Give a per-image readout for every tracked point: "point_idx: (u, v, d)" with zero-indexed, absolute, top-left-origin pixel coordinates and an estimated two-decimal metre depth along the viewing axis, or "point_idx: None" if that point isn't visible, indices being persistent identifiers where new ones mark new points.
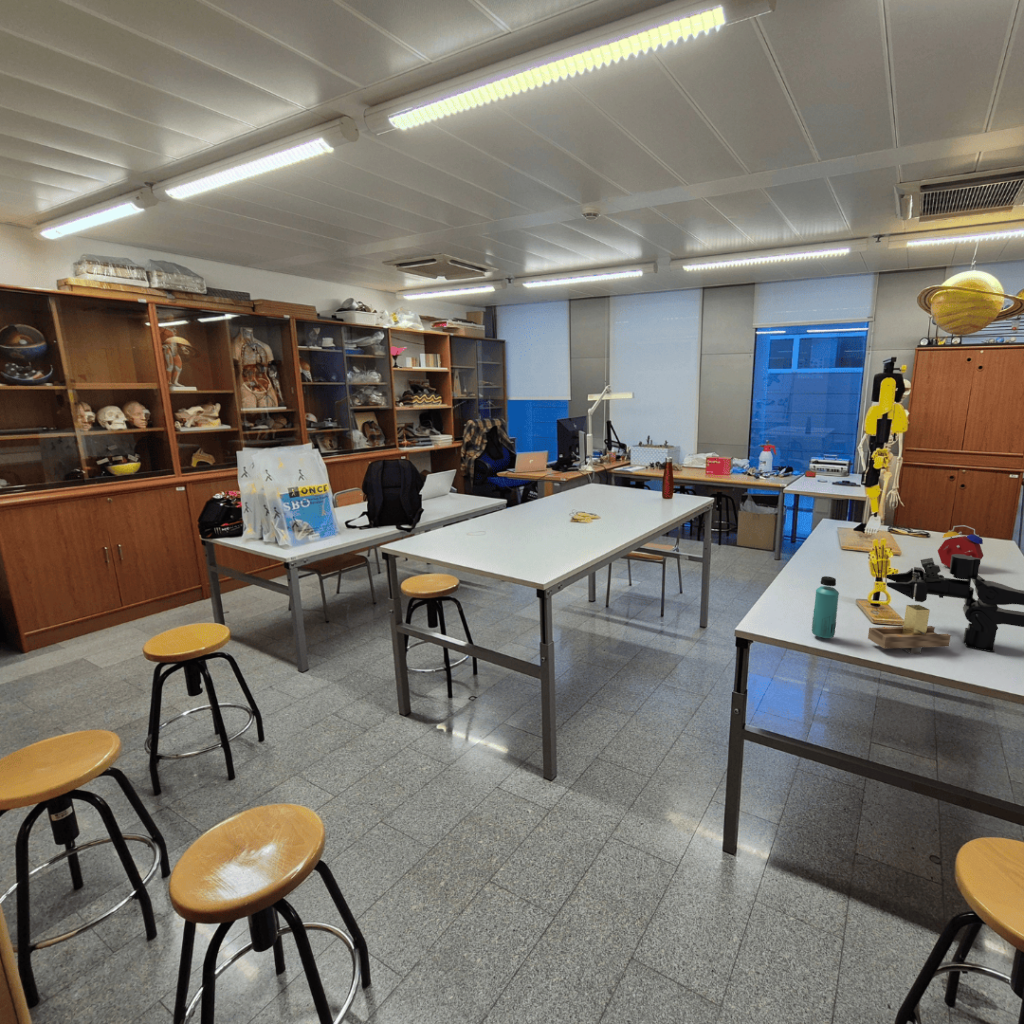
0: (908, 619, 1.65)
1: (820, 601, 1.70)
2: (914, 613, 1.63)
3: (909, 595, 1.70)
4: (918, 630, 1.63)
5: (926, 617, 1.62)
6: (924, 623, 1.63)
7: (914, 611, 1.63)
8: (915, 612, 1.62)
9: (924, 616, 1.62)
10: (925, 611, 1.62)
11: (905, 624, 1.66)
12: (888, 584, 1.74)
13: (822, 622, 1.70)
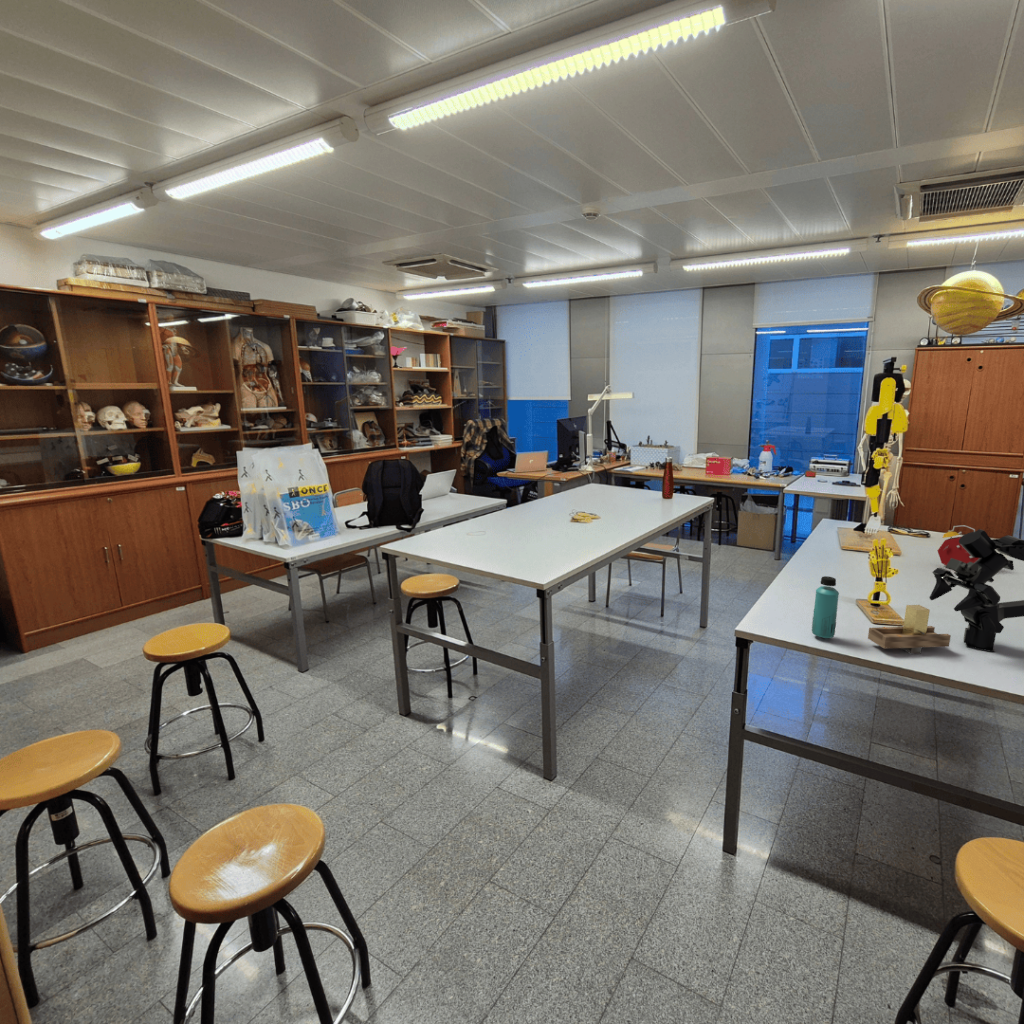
0: (908, 619, 1.65)
1: (820, 601, 1.70)
2: (914, 613, 1.63)
3: (981, 603, 1.58)
4: (918, 630, 1.63)
5: (926, 617, 1.62)
6: (924, 623, 1.63)
7: (914, 611, 1.63)
8: (915, 612, 1.62)
9: (924, 616, 1.62)
10: (925, 611, 1.62)
11: (905, 624, 1.66)
12: (956, 609, 1.60)
13: (822, 622, 1.70)
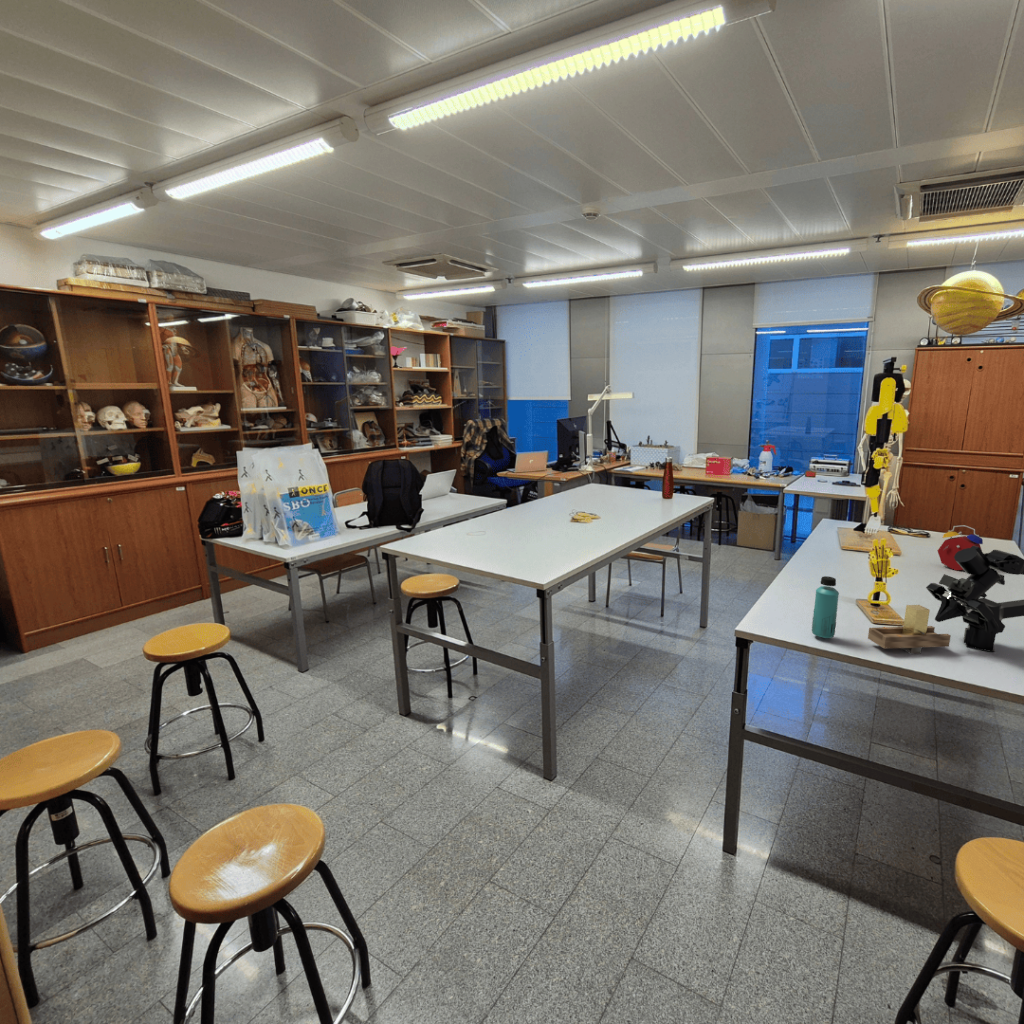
0: (908, 619, 1.65)
1: (820, 601, 1.70)
2: (914, 613, 1.63)
3: (962, 614, 1.63)
4: (918, 630, 1.63)
5: (926, 617, 1.62)
6: (924, 623, 1.63)
7: (914, 611, 1.63)
8: (915, 612, 1.62)
9: (924, 616, 1.62)
10: (925, 611, 1.62)
11: (905, 624, 1.66)
12: (938, 620, 1.65)
13: (822, 622, 1.70)
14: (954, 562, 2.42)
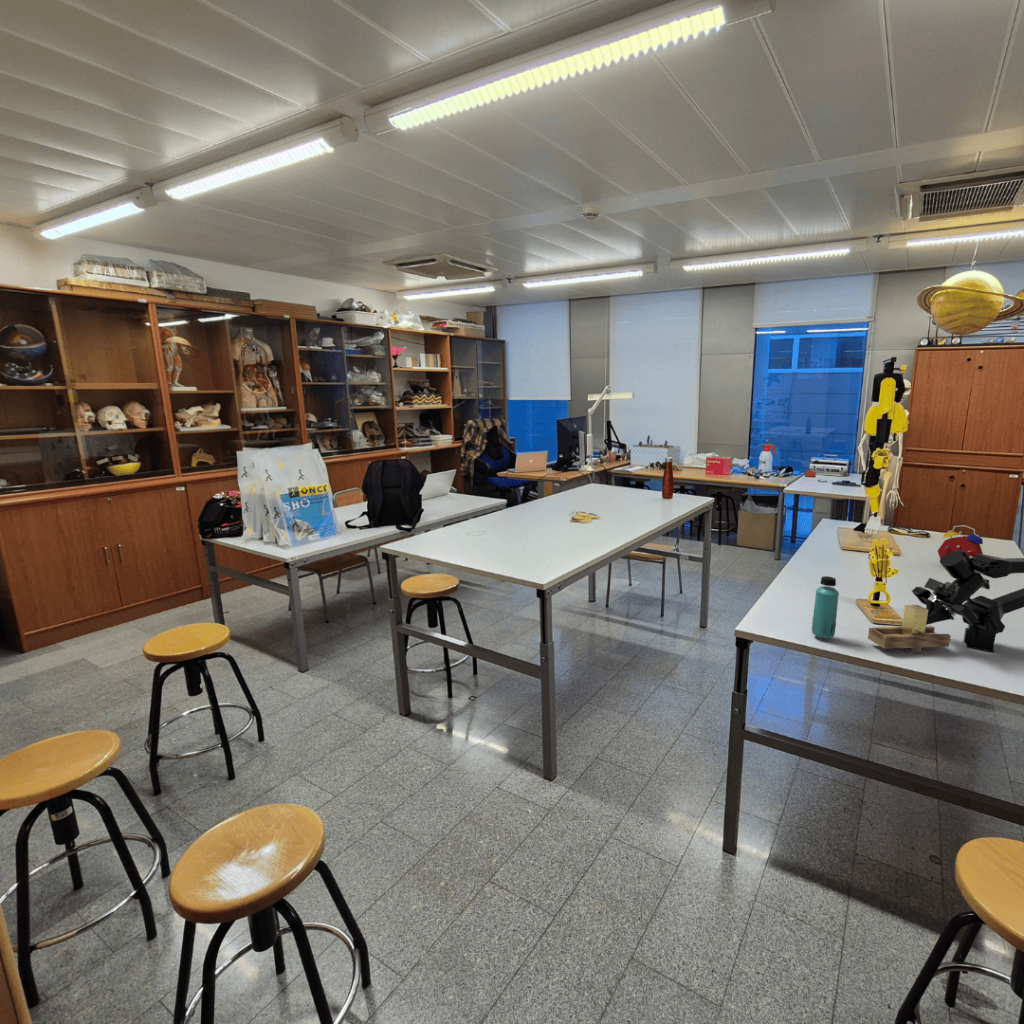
0: (907, 619, 1.65)
1: (820, 601, 1.70)
2: (913, 613, 1.63)
3: (947, 618, 1.63)
4: (917, 630, 1.63)
5: (925, 617, 1.62)
6: (923, 623, 1.63)
7: (912, 611, 1.63)
8: (914, 612, 1.62)
9: (922, 616, 1.62)
10: (923, 611, 1.62)
11: (903, 624, 1.66)
12: None
13: (822, 622, 1.70)
14: None
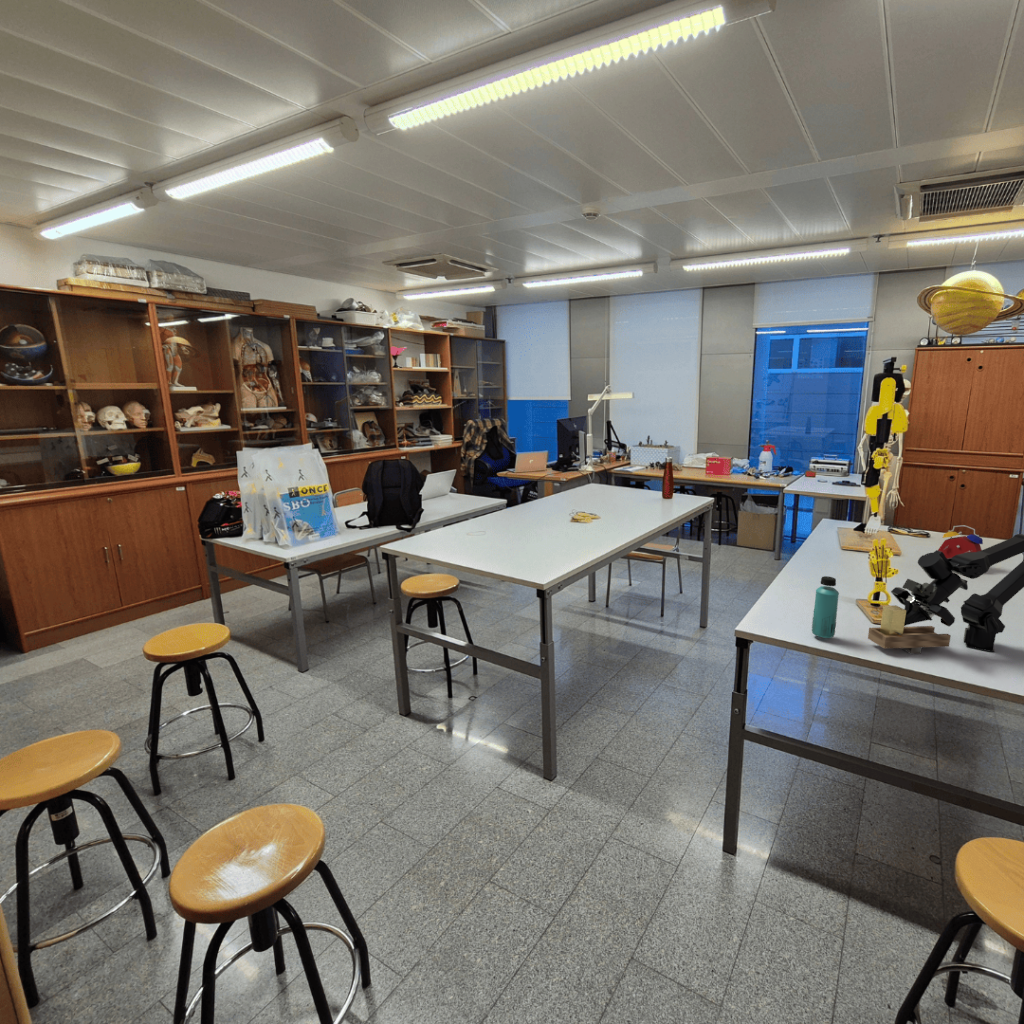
0: (885, 620, 1.64)
1: (820, 601, 1.70)
2: (891, 613, 1.62)
3: (925, 618, 1.62)
4: (895, 631, 1.63)
5: (903, 618, 1.62)
6: (901, 623, 1.62)
7: (890, 611, 1.62)
8: (891, 613, 1.62)
9: (900, 617, 1.62)
10: (901, 611, 1.62)
11: (882, 625, 1.66)
12: None
13: (822, 622, 1.70)
14: None
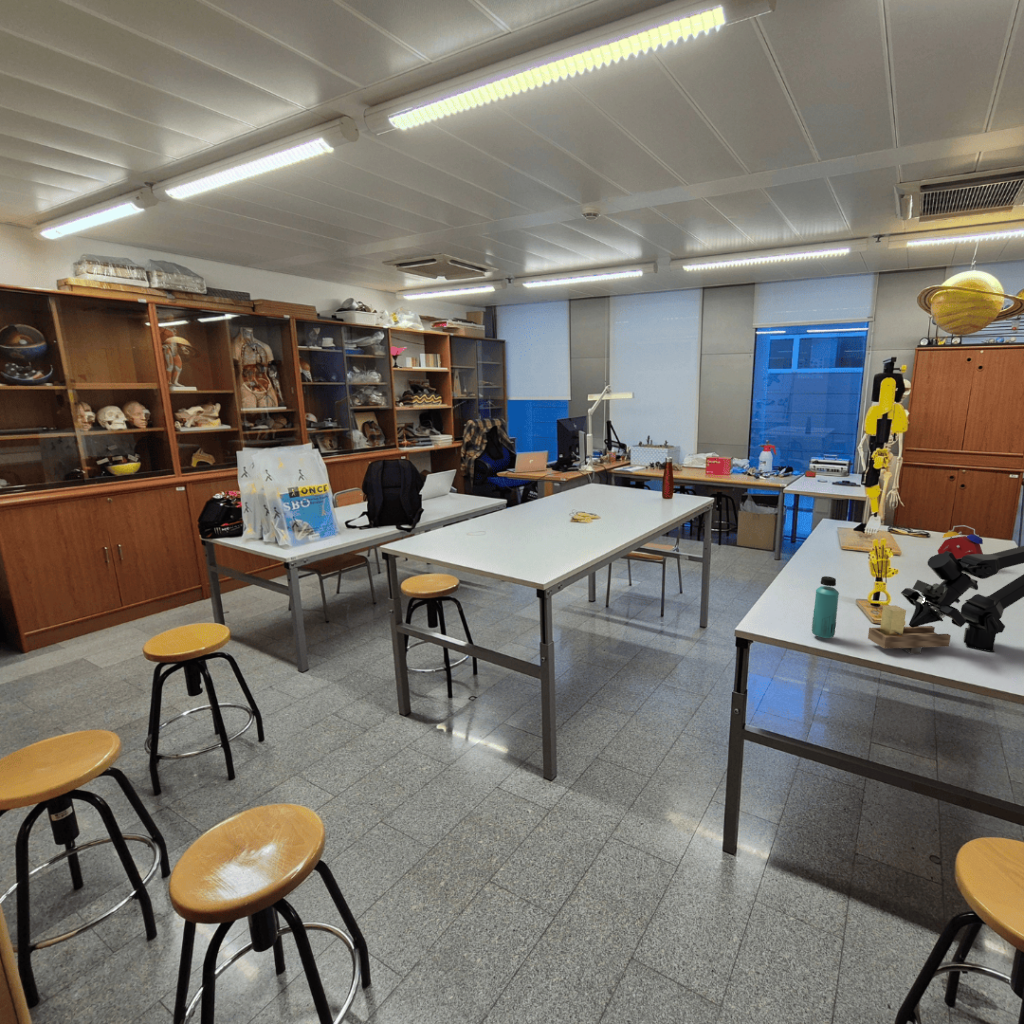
0: (885, 620, 1.64)
1: (820, 601, 1.70)
2: (891, 613, 1.62)
3: (936, 619, 1.63)
4: (894, 631, 1.63)
5: (902, 618, 1.62)
6: (901, 623, 1.62)
7: (890, 611, 1.62)
8: (891, 613, 1.62)
9: (900, 617, 1.62)
10: (901, 611, 1.62)
11: (881, 625, 1.66)
12: (912, 625, 1.65)
13: (822, 622, 1.70)
14: None
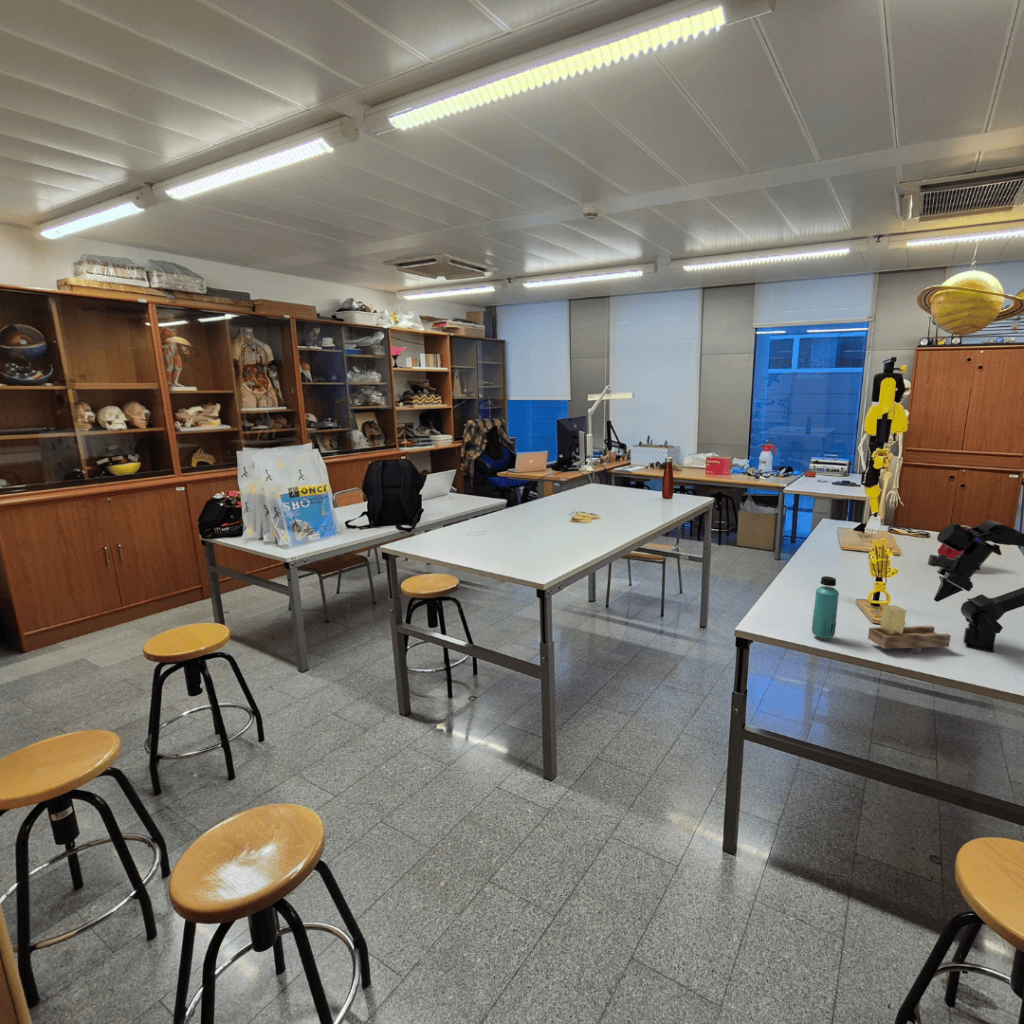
0: (885, 620, 1.64)
1: (820, 601, 1.70)
2: (891, 613, 1.62)
3: (957, 590, 1.64)
4: (894, 631, 1.63)
5: (902, 618, 1.62)
6: (901, 623, 1.62)
7: (890, 611, 1.62)
8: (891, 613, 1.62)
9: (900, 617, 1.62)
10: (901, 611, 1.62)
11: (881, 625, 1.66)
12: (936, 599, 1.68)
13: (822, 622, 1.70)
14: None
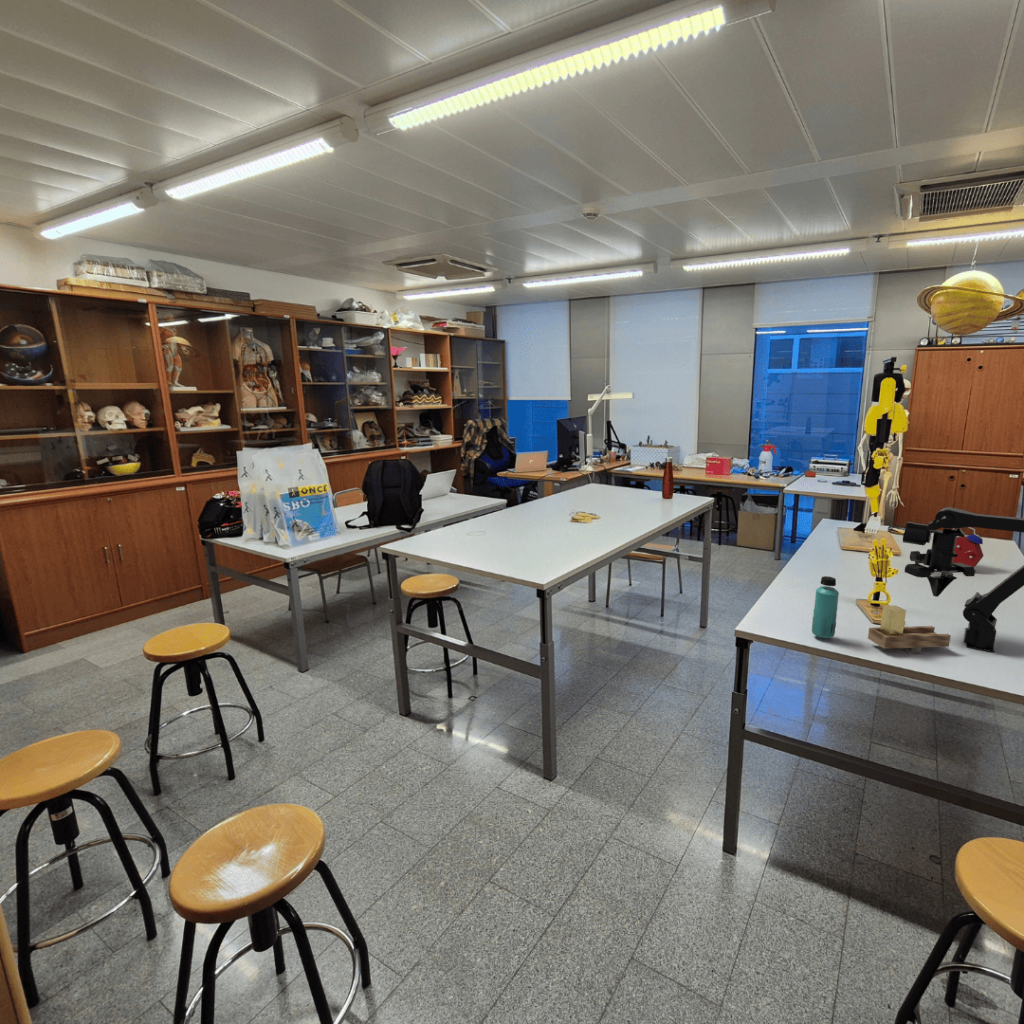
0: (885, 620, 1.64)
1: (820, 601, 1.70)
2: (891, 613, 1.62)
3: (937, 580, 1.70)
4: (894, 631, 1.63)
5: (902, 618, 1.62)
6: (901, 623, 1.62)
7: (890, 611, 1.62)
8: (891, 613, 1.62)
9: (900, 617, 1.62)
10: (901, 611, 1.62)
11: (881, 625, 1.66)
12: (934, 594, 1.73)
13: (822, 622, 1.70)
14: (954, 562, 2.42)
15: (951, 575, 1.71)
